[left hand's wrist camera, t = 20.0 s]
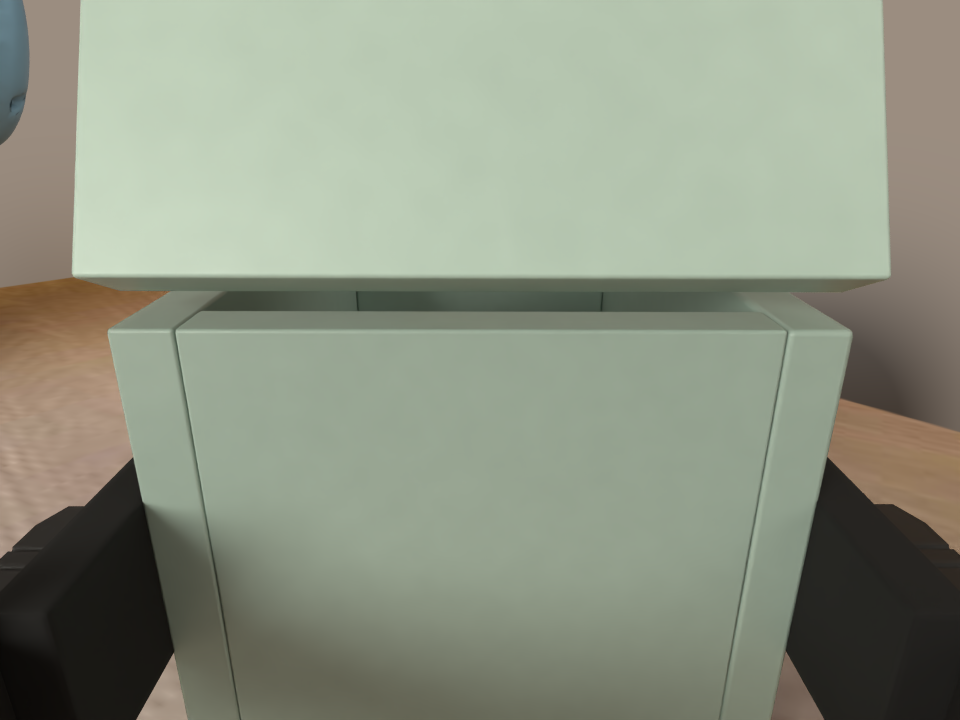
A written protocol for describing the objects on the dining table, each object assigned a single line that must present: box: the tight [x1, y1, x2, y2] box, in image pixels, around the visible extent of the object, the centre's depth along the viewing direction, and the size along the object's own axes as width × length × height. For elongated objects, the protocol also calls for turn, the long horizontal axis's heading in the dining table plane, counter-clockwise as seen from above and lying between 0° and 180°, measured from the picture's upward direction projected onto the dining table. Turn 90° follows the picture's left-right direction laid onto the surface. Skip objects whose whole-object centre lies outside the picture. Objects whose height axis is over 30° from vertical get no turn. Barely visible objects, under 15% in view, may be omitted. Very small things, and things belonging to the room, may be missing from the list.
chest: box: [108, 291, 853, 720], centre depth 16 cm, size 13×10×11 cm
